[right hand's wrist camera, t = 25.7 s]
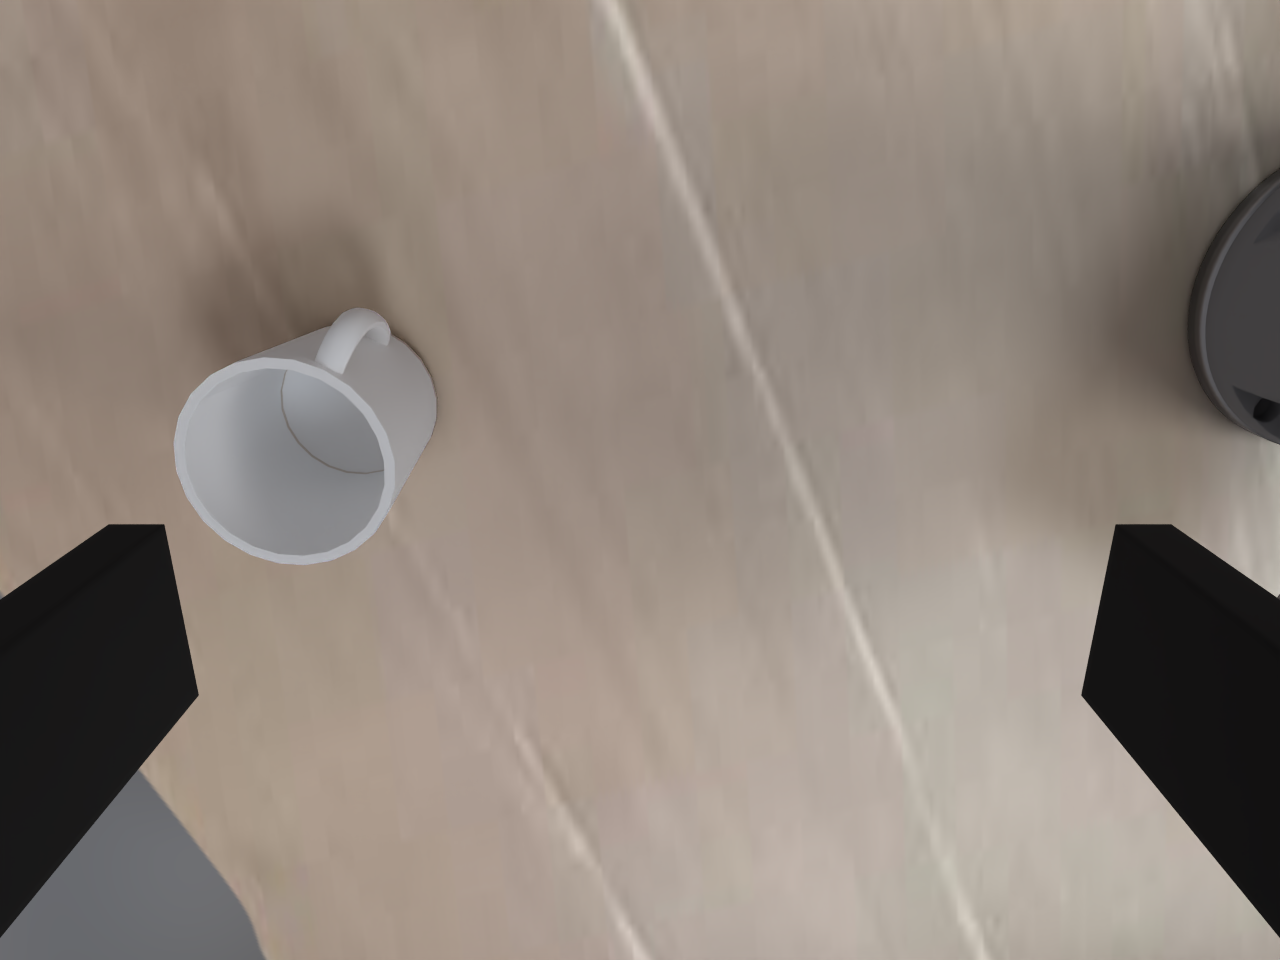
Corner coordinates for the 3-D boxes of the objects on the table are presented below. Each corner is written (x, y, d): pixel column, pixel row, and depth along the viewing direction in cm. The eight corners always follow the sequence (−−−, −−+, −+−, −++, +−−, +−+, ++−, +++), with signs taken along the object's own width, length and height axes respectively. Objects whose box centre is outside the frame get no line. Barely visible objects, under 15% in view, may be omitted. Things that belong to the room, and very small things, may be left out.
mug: (408, 508, 48) (349, 598, 38) (249, 435, 46) (146, 509, 36) (491, 326, 44) (449, 374, 35) (322, 242, 43) (229, 267, 33)
